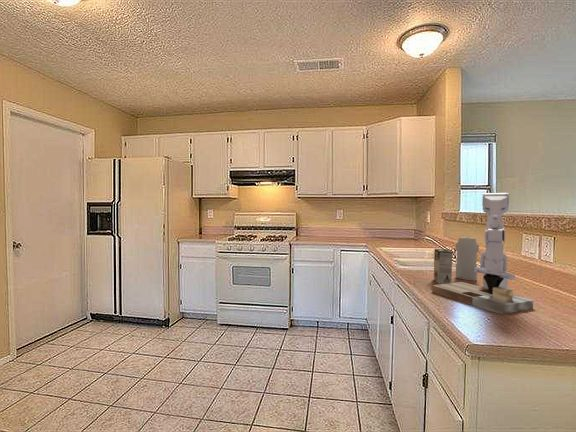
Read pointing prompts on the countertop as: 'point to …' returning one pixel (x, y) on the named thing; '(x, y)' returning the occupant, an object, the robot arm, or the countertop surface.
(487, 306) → the trap board
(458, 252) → the grey upright slab
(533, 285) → the countertop surface
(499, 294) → the block
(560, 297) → the countertop surface
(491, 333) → the countertop surface
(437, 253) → the coffee box
